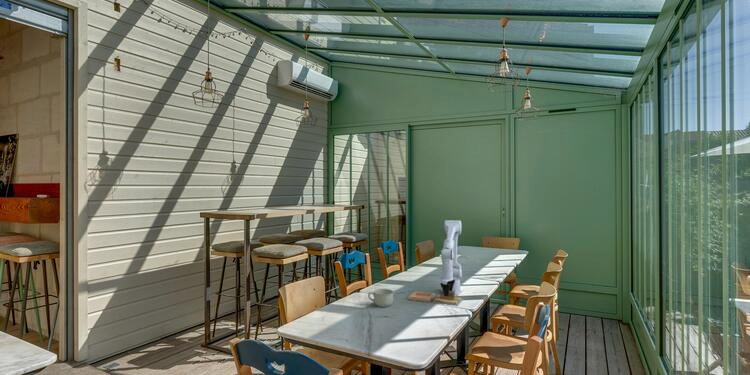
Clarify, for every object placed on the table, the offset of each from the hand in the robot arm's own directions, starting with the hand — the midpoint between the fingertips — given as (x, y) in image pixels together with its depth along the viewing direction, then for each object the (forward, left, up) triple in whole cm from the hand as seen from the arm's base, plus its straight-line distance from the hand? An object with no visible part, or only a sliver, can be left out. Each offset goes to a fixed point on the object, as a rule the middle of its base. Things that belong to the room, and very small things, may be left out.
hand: (448, 294), depth 220 cm
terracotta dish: (0, -16, -4) cm, 16 cm away
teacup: (+22, -32, -4) cm, 39 cm away
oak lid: (0, 0, -3) cm, 3 cm away
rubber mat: (0, 0, -4) cm, 4 cm away
